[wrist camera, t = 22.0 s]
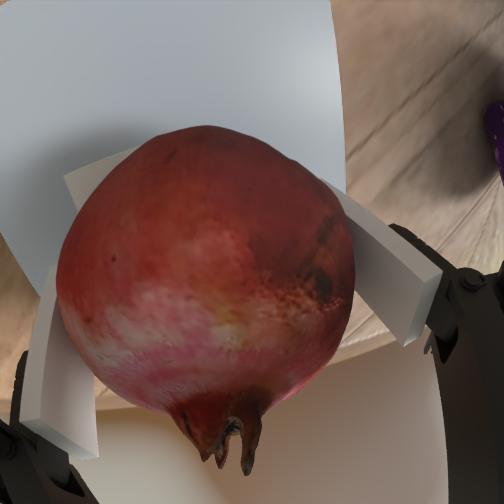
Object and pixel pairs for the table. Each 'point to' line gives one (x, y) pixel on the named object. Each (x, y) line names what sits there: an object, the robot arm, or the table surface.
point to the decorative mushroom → (496, 131)
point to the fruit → (208, 282)
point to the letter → (151, 96)
